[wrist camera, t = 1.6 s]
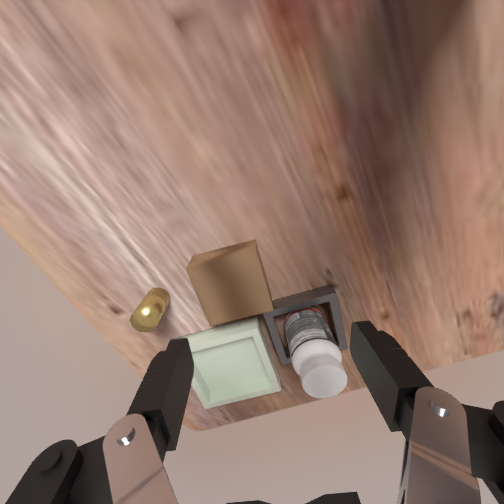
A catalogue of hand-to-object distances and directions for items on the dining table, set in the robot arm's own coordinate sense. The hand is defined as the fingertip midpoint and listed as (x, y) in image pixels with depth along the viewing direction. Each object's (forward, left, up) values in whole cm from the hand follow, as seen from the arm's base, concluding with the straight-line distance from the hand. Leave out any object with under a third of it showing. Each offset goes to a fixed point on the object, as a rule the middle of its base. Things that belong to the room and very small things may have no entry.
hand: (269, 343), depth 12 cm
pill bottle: (-3, +15, -19) cm, 24 cm away
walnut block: (+4, +5, -19) cm, 20 cm away
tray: (+9, +18, -18) cm, 27 cm away
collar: (-3, +15, -18) cm, 24 cm away
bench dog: (+15, +5, -18) cm, 24 cm away
